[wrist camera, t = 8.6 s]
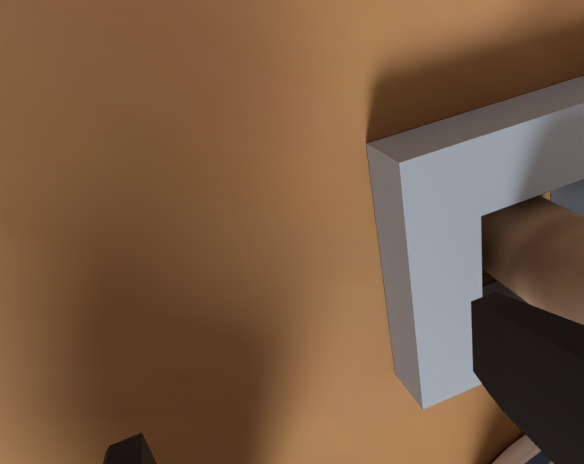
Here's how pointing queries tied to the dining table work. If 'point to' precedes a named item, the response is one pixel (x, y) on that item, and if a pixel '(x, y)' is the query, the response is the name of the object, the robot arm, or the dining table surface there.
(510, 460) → the supplement tub
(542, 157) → the socket block
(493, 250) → the dowel
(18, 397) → the dining table surface
